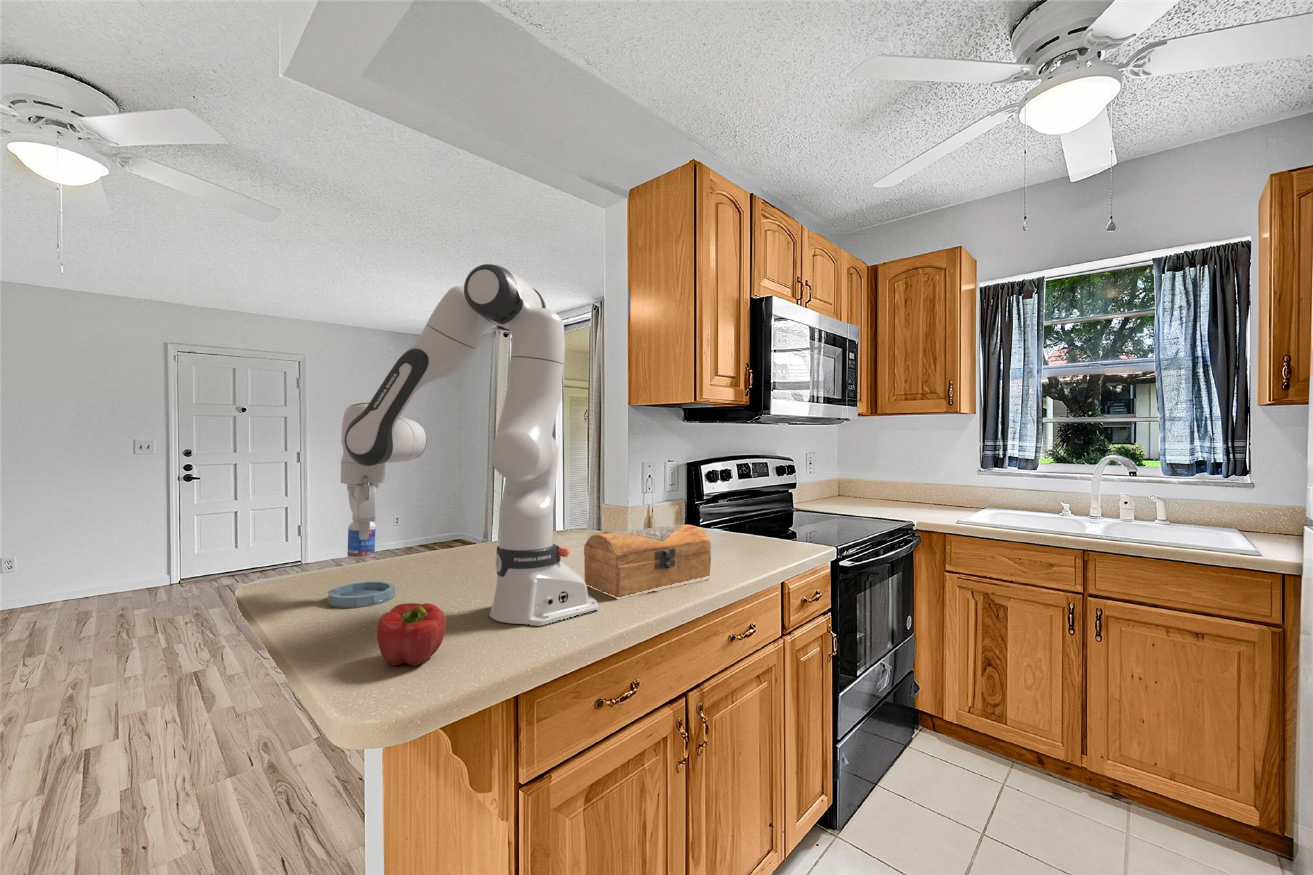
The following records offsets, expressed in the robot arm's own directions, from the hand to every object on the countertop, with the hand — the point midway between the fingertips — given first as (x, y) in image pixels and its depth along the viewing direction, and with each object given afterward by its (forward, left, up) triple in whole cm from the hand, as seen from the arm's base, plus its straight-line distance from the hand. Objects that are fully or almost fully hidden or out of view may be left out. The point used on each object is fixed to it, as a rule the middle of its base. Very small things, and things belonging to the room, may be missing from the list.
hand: (362, 536), depth 122 cm
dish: (0, 0, -14) cm, 14 cm away
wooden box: (-63, +22, -15) cm, 68 cm away
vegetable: (-4, +42, -14) cm, 45 cm away
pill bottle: (0, 0, -5) cm, 5 cm away
